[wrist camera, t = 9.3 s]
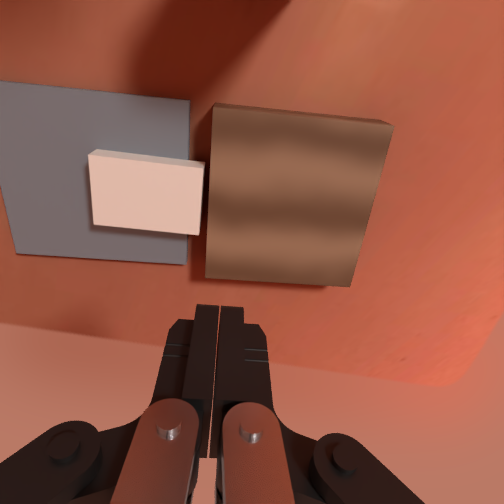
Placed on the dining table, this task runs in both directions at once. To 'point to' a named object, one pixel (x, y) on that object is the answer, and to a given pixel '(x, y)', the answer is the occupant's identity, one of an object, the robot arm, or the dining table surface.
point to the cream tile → (146, 191)
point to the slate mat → (81, 167)
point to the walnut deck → (290, 194)
